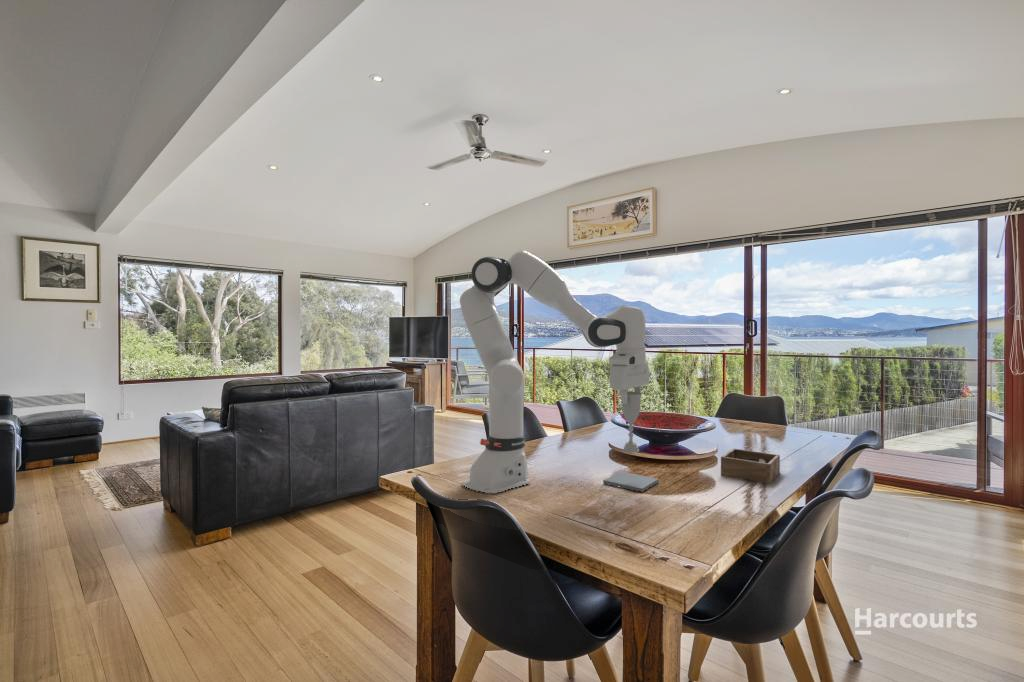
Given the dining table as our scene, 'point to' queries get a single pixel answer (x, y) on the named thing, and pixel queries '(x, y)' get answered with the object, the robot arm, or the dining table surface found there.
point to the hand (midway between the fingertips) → (630, 401)
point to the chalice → (631, 417)
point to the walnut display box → (750, 465)
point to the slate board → (631, 481)
